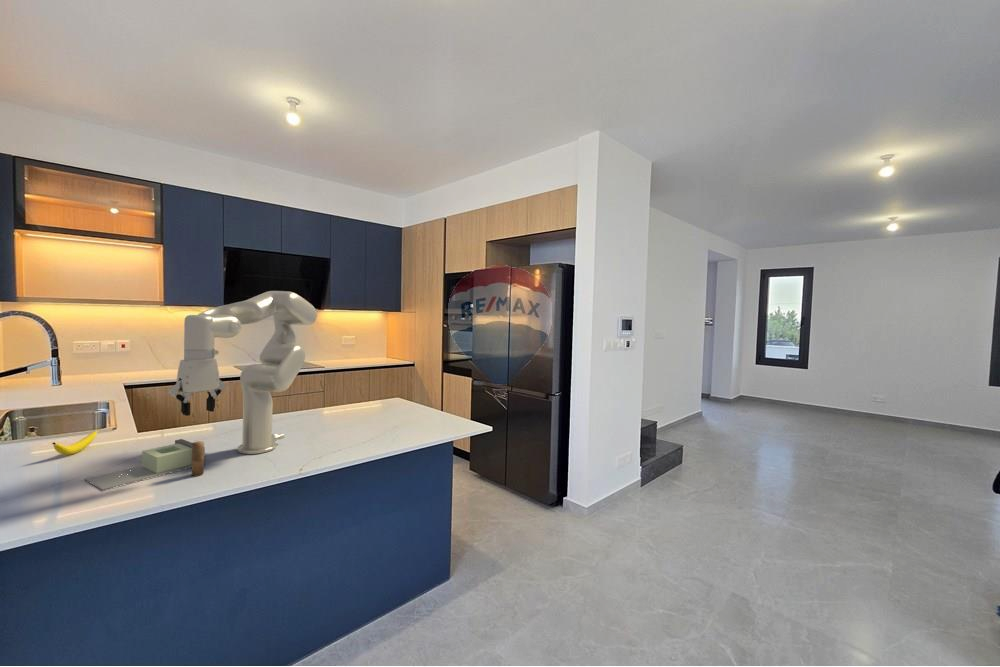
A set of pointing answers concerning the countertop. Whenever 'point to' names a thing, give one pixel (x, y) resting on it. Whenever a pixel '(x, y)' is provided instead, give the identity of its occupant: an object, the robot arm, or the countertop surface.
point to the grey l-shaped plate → (131, 473)
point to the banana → (75, 445)
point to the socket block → (167, 457)
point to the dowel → (197, 458)
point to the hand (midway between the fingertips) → (198, 412)
